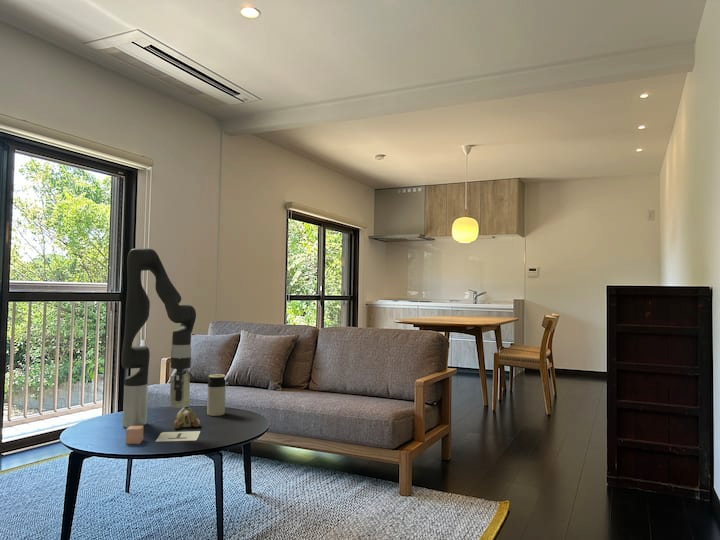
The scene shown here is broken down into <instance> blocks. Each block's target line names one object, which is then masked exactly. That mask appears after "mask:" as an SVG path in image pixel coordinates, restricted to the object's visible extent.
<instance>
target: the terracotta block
mask: <svg viewBox="0 0 720 540" xmlns="http://www.w3.org/2000/svg"><path fill="white" fill-rule="evenodd" d="M143 440H144V425H142V426H129V427H128V428H127V427H126V429H125V445H129V444H130V445H132V444H133V445H134V444H141V443H142V442H143Z"/></svg>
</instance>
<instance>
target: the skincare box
mask: <svg viewBox="0 0 720 540" xmlns="http://www.w3.org/2000/svg"><path fill="white" fill-rule="evenodd" d="M174 375H175V374H173V375H170V377H169V378H170V379H169V380H170V389H169V391H170V392H169V398H170V400H169V407H170V408H179V409H180V408H181V409H182V408H184V407H189V406H190V398H191V397H190V391H191V390H190V387H191V386H190V385H191V384H190V382H191V379H190V377H191V376H190V374H186V375H185V376H182V380H181V383H182V381H183V382H184V384H183V385H182V399H181V401H176V400H175V394H176V391H175V390H174ZM177 387H180V385H177Z"/></svg>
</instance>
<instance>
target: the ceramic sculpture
mask: <svg viewBox="0 0 720 540" xmlns="http://www.w3.org/2000/svg"><path fill="white" fill-rule="evenodd" d="M175 418H176V419H175V420H174V421H173V427H174V428H175V429H177V430H179V429H181V428H191V427H194V428H198V427H200V426H201V420H200V418H197V417H196V414H195V412H193V410H192V409H191V407H189V406H187V407H184V408H181V409H180V410H179V411H178V412H177V414H176V417H175Z"/></svg>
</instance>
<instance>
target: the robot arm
mask: <svg viewBox="0 0 720 540" xmlns="http://www.w3.org/2000/svg"><path fill="white" fill-rule="evenodd" d="M126 257H127V259H126V272H127V273H126V274H127V276H126V278H127V280H126V281H127V282H126V283H127V284H126V285H127V286H126V288H127V290H126V302H125V316H124V318H125V319H124V332H123V333H124V336H123V342H122V350H121V357H120V359H121V360H120V361H121V363H120V364H121V367H122V368H123V369H127V370H128V369H130V370H131V369H139V370H138V371H137V372H135V373H134V374H131V375H129V376H126V377H125V378H124V380H123V383H124V384H123V403H122V405H123V408H122V409H123V410H122V427H124V428H126V429H127V428H128V427H129V426H144V425H147V414H148V413H147V412H148V409H147V408H148V388H149V387H148V386H149V385H148V382H149V366H150V359H151V358H150V357H151V353H150V352H151V351H150V349H149V347H148V346H146V345H137V346H133V343H134V341H135V338H136V336H137V335H138V333H139V331H140V330H141V329H142V328H143V327H144V326H145V324H146V323H147V321H148V320H149V317H150V306H151V304H150V303H151V301H150V298H149V296H148V294H147V292H146V290H145V289H144V287H143V283H142V272H143V271H144V272H145V271H150V273H152V274H153V276H154V277H155V285H154V288H155V292H156V294H157V296H158V298H159V299H160V300H161V302H162V303H163V304H164V308H165V311H166V314H167V316H168V319H169V320H170V321H171V322H173V323H174V324H180V326H179V328H176V329H174V330H173V331H172V336H171V337H172V339H171V340H172V341H171V350H170V369H173V370H175V371H176V372H175V373H174V374H173V375H174V390H175V391H176V394H175V400H176V401H181V399H182V385H183V384H184V382H183V381H182V383H181V380H182V376H185V375H187V370H186V369H189V368H191V366H192V347H191V346H192V345H191V344H192V332H193V330H194V326H195V323H196V319H197V311H196V309H195V307H194V306H193V305H190V304H182V305H181V304H180V303H181V302H182V296H181V294H180V293H179V291H178V290H177V288H176V287H175V286H174V284H173V282H171V280H170V277H169V275H168V273H167V271H166V269H165V266H164V264H163V263H162V260H161V258H160V257H159V254H158V253H157V251H156V250H154V249H153V248H132V249H130V250H129V252H128V254H127V256H126ZM177 385H180V387H177Z"/></svg>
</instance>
